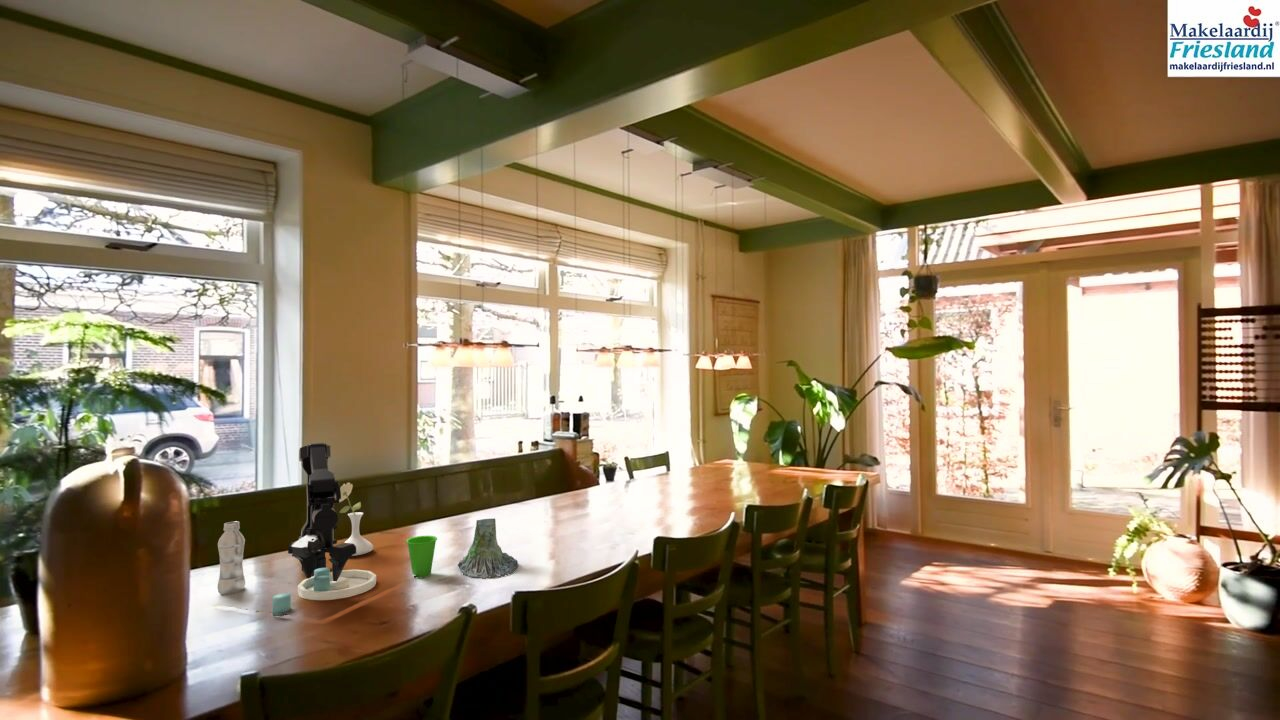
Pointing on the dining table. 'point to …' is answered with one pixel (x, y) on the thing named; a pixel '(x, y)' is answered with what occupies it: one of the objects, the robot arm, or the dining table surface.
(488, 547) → the tree stump
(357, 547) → the flower in vase
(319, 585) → the bead
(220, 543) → the plastic bottle
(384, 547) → the dining table surface
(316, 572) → the bead seated
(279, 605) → the bead
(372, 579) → the groove tray
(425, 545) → the cup
